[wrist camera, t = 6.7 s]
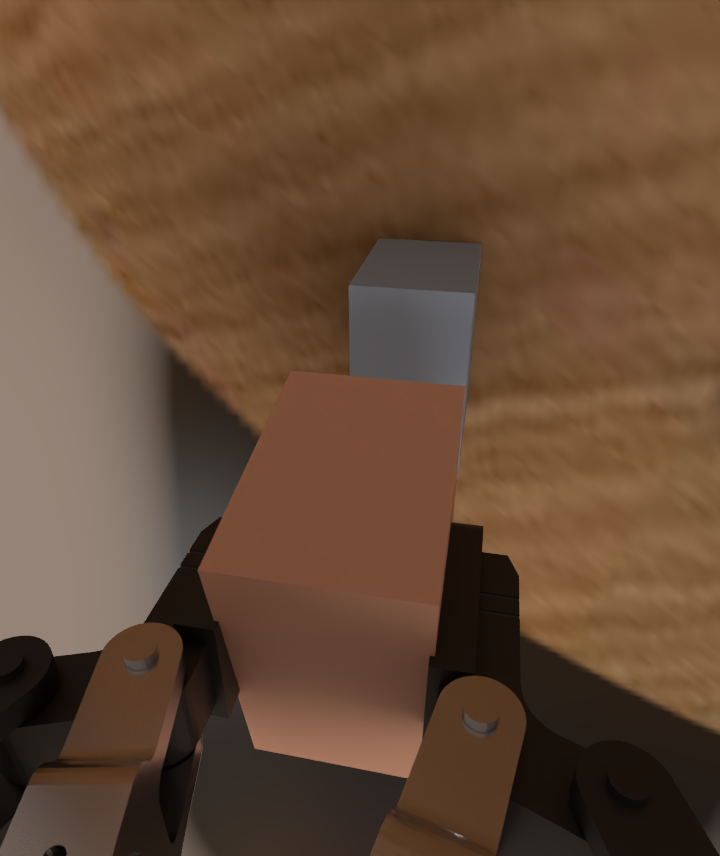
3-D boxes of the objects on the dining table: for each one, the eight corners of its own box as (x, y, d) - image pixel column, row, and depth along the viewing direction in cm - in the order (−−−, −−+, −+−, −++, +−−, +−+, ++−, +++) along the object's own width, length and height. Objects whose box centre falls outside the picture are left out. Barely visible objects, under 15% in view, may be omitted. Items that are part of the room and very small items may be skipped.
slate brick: (379, 237, 22) (348, 285, 18) (482, 242, 22) (475, 293, 17) (377, 391, 25) (350, 462, 21) (467, 399, 25) (457, 474, 21)
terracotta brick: (290, 370, 13) (197, 570, 9) (465, 386, 12) (438, 605, 9) (314, 555, 17) (255, 748, 13) (447, 575, 16) (424, 781, 13)
